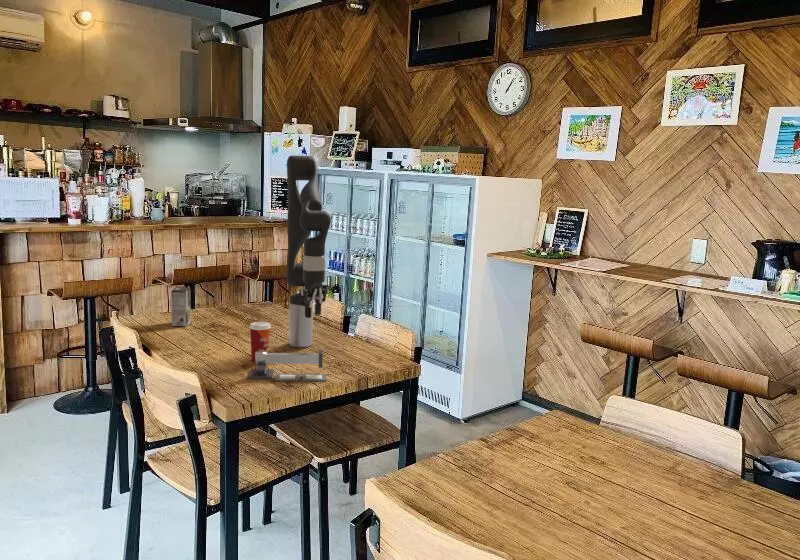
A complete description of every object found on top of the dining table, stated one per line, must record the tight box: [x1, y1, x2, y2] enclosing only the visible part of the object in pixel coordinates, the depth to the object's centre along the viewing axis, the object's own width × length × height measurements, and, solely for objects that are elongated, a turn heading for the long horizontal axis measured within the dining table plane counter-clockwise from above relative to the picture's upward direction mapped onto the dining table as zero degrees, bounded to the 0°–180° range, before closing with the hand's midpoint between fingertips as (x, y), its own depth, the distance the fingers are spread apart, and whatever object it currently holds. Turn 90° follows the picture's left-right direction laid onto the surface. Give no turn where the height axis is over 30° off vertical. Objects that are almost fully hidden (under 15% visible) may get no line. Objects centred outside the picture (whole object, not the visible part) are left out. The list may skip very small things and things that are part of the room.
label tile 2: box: [301, 373, 327, 382], centre depth 207 cm, size 6×8×1 cm
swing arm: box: [255, 349, 324, 369], centre depth 208 cm, size 23×5×5 cm, turn 97°
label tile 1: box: [274, 373, 301, 382], centre depth 206 cm, size 6×8×1 cm
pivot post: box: [247, 363, 275, 380], centre depth 207 cm, size 8×8×4 cm
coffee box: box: [171, 286, 192, 328], centre depth 267 cm, size 9×6×16 cm
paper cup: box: [248, 321, 272, 364], centre depth 222 cm, size 8×8×14 cm
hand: (313, 315), depth 214 cm, fingers open, 5 cm apart
